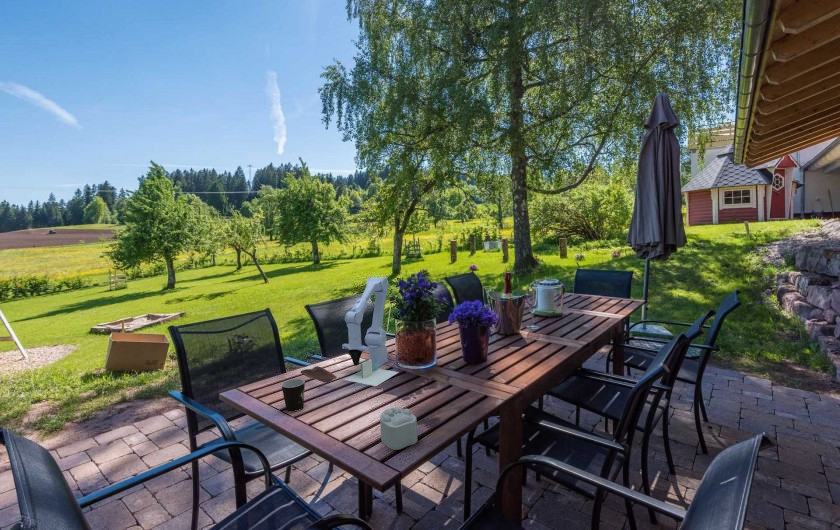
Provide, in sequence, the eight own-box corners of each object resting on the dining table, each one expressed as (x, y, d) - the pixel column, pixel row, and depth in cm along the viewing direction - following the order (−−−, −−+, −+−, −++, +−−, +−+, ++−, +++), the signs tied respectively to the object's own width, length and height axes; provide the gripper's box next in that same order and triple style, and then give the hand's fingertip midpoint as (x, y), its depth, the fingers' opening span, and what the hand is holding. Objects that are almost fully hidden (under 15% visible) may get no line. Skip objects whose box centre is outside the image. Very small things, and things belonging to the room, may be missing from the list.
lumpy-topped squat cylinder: (392, 452, 117) (390, 424, 116) (374, 433, 128) (373, 408, 128) (421, 441, 122) (420, 415, 122) (402, 424, 134) (401, 400, 133)
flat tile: (369, 367, 191) (369, 363, 191) (380, 369, 188) (380, 365, 187) (361, 371, 186) (361, 367, 186) (373, 373, 182) (373, 369, 182)
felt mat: (368, 367, 191) (368, 366, 191) (398, 373, 182) (398, 372, 182) (344, 380, 176) (344, 379, 176) (375, 387, 167) (375, 386, 167)
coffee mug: (293, 415, 144) (291, 389, 143) (278, 410, 149) (276, 385, 148) (317, 402, 154) (315, 378, 153) (302, 398, 159) (300, 374, 158)
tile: (369, 373, 182) (368, 359, 182) (372, 374, 181) (371, 359, 181) (361, 377, 177) (360, 363, 176) (364, 378, 176) (363, 363, 176)
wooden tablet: (344, 378, 176) (324, 382, 170) (344, 383, 176) (324, 387, 170) (318, 365, 196) (299, 368, 190) (318, 369, 196) (299, 372, 190)
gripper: (337, 337, 181) (338, 365, 182) (361, 340, 174) (363, 369, 175) (347, 333, 187) (348, 360, 188) (371, 336, 180) (372, 365, 181)
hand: (356, 364), depth 182 cm, fingers closed
